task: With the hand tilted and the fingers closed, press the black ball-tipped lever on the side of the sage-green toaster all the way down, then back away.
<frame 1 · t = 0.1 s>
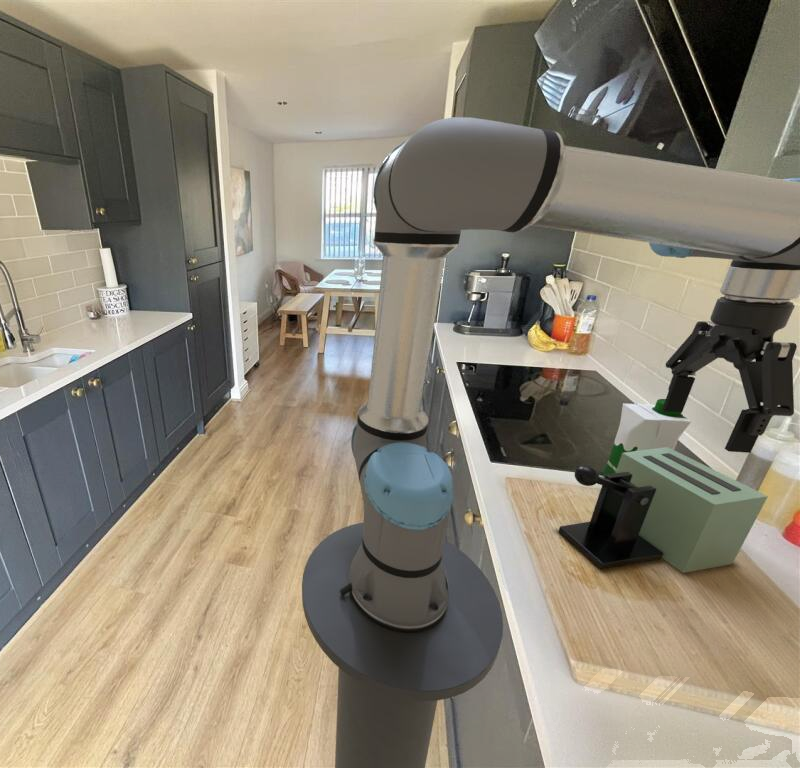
hand: (701, 429, 65), 22 cm above the countertop, tool pointing down, fingers open, 13 cm apart
lever bracket: (607, 545, 71), on the countertop
milk carton: (628, 485, 87), on the countertop
toaster: (661, 536, 73), on the countertop
toaster lever: (607, 483, 65), point 14 cm above the countertop, hinge at 25.0°
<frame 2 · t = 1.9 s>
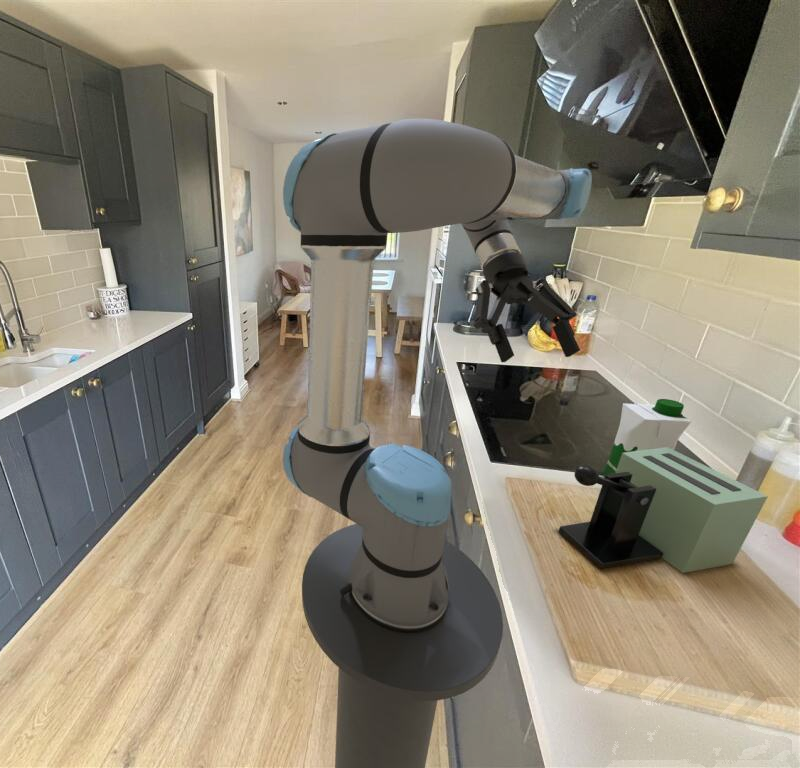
hand: (540, 356, 72), 32 cm above the countertop, tool tilted 45°, fingers open, 12 cm apart
nothing on the countertop moved.
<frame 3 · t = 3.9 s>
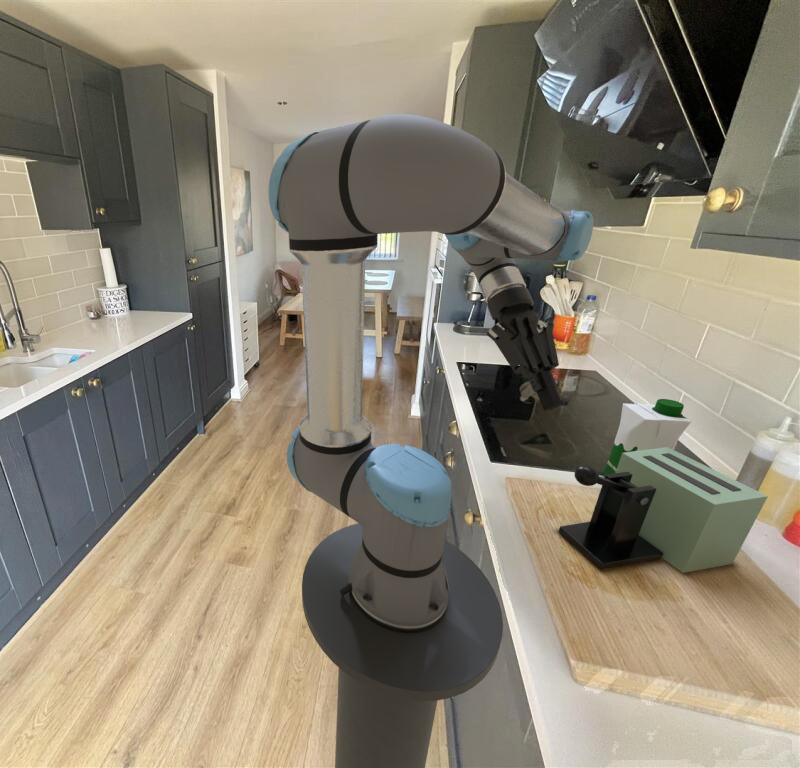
hand: (553, 407, 69), 24 cm above the countertop, tool tilted 45°, fingers closed
nothing on the countertop moved.
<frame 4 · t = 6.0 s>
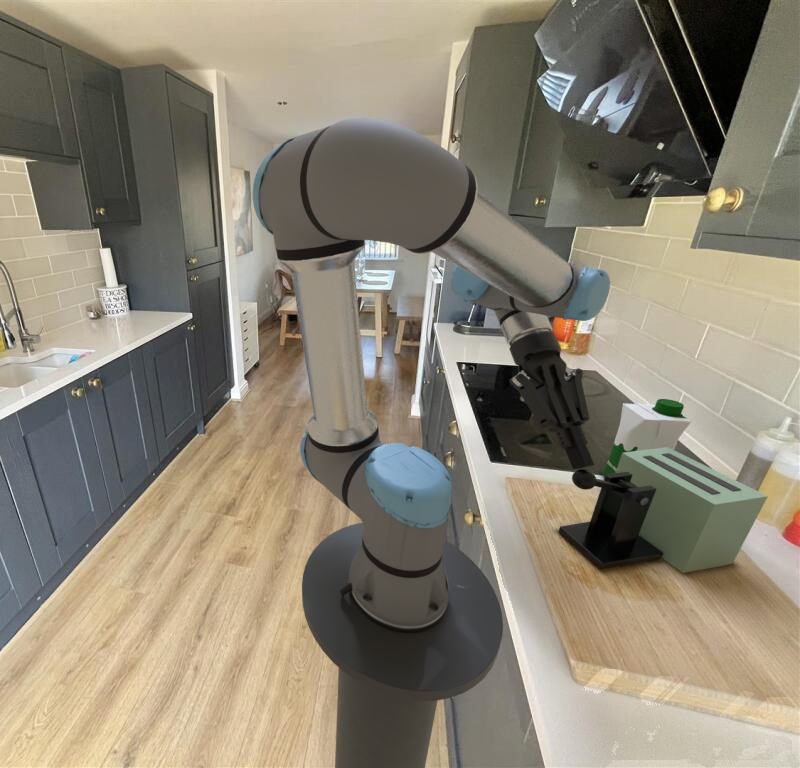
hand: (583, 466, 64), 18 cm above the countertop, tool tilted 45°, fingers closed
toaster lever: (605, 484, 65), point 14 cm above the countertop, hinge at 20.8°, touching gripper
everything else where it was.
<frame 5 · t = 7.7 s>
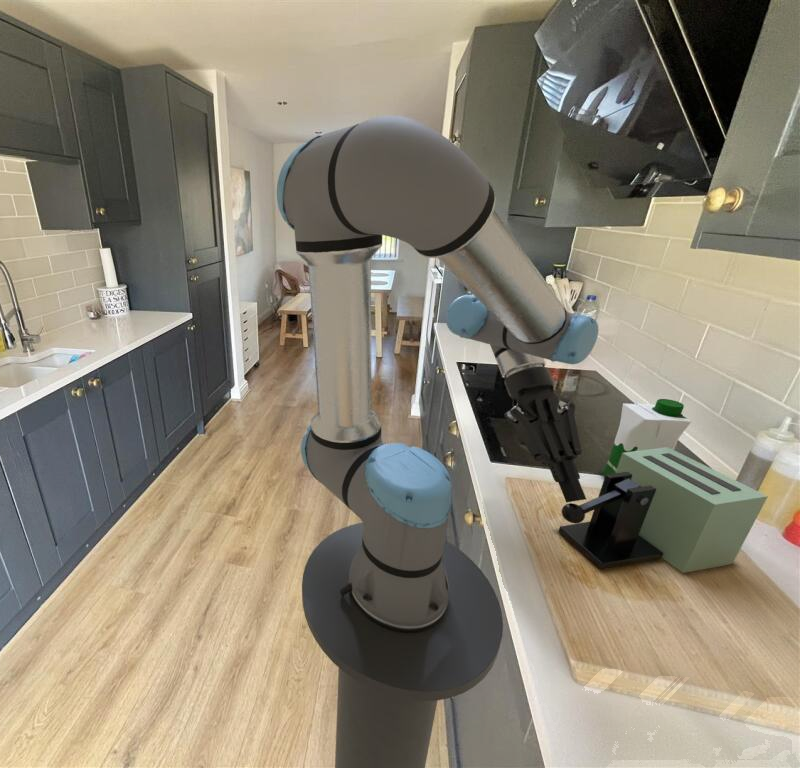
hand: (576, 500, 66), 11 cm above the countertop, tool tilted 45°, fingers closed
toaster lever: (599, 502, 67), point 10 cm above the countertop, hinge at -19.2°, touching gripper
everything else where it was.
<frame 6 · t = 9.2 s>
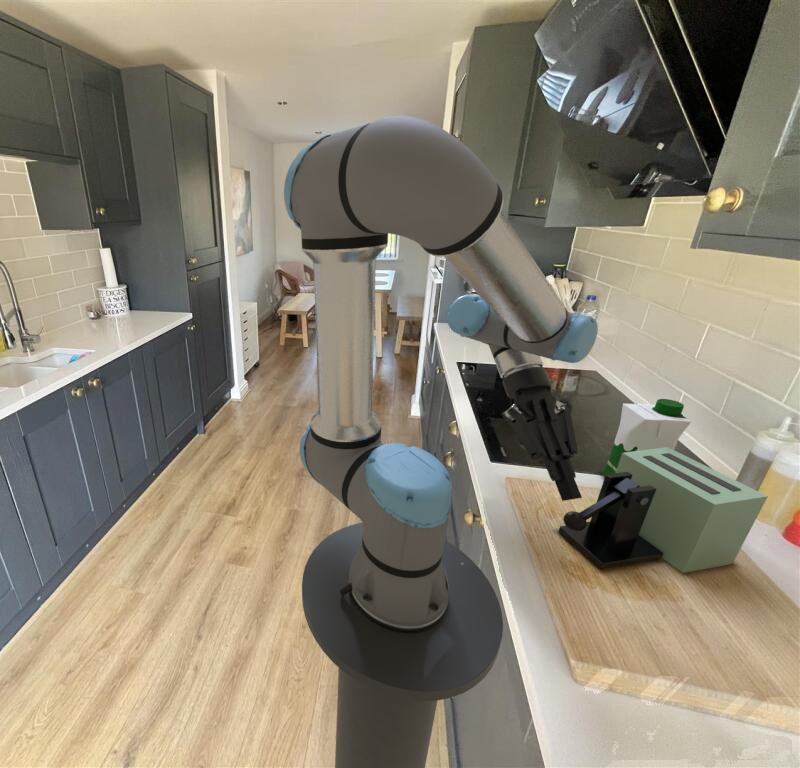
hand: (571, 499, 67), 11 cm above the countertop, tool tilted 45°, fingers closed
toaster lever: (600, 506, 67), point 9 cm above the countertop, hinge at -30.6°
everything else where it was.
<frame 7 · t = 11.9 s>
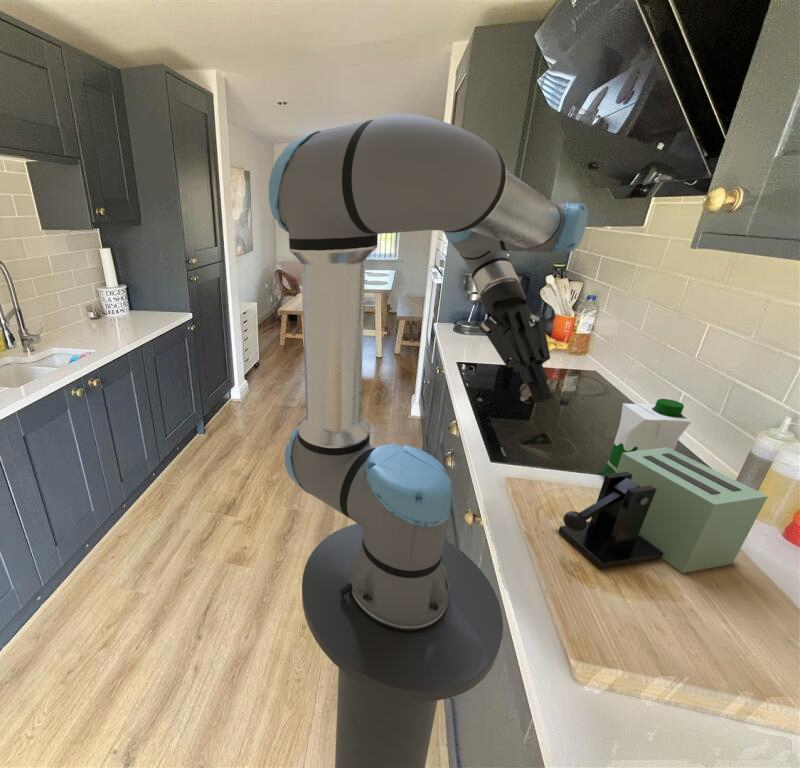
hand: (543, 399, 70), 25 cm above the countertop, tool tilted 45°, fingers closed
nothing on the countertop moved.
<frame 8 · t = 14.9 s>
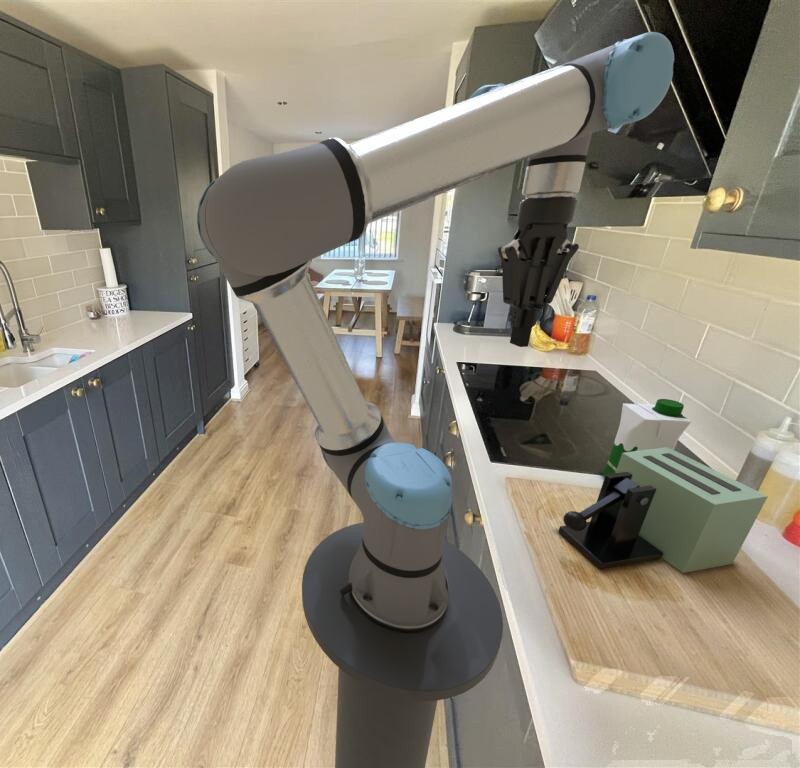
hand: (518, 344, 70), 34 cm above the countertop, tool pointing down, fingers closed
nothing on the countertop moved.
at the end: toaster lever at -31° (first picture: +25°) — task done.
